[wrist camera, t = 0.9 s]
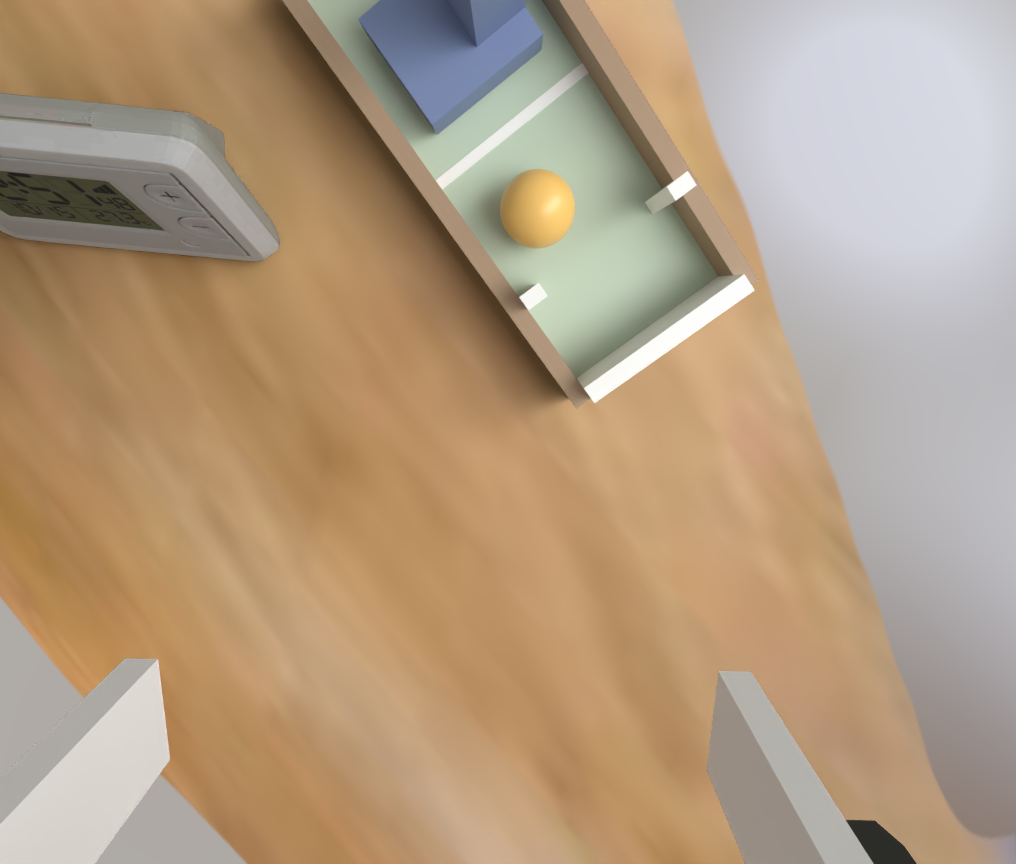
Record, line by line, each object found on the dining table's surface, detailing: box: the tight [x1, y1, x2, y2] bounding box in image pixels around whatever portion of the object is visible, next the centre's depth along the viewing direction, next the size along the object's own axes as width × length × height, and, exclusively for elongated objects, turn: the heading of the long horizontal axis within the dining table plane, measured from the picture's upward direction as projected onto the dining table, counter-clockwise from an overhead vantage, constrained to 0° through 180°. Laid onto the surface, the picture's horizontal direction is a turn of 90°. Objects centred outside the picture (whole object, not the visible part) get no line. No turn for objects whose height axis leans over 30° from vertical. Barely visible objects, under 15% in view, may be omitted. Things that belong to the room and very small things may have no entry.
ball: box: [500, 169, 575, 249], centre depth 32 cm, size 4×4×4 cm
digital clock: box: [0, 93, 280, 261], centre depth 30 cm, size 16×9×11 cm, turn 73°
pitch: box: [282, 0, 759, 408], centre depth 31 cm, size 27×12×6 cm, turn 36°
